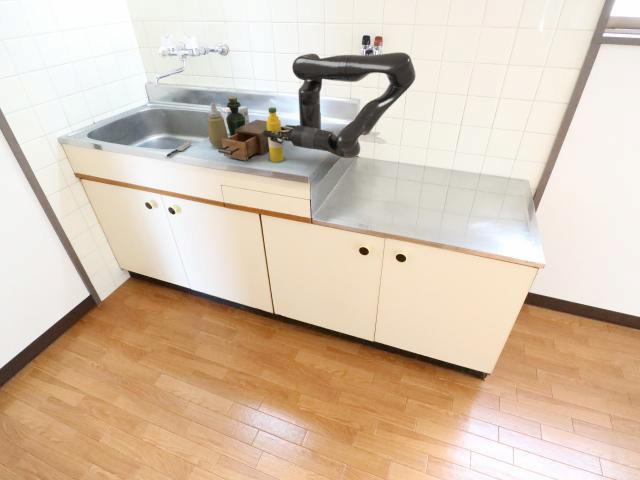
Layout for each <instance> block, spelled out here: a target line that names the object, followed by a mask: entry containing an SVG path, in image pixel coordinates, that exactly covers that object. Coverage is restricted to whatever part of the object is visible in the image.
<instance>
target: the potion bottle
mask: <svg viewBox="0 0 640 480" xmlns="http://www.w3.org/2000/svg"><path fill="white" fill-rule="evenodd" d="M227 99H228V102H227V104H226V108H230V110H231V113H230V114H229V115H228V116H227V118H226V121H227V125H228V129H229V133H230V134H229V137H230V136H233V135H235V129H237V128H239V127H241V126H244V125H245V116H244V115H243V114H241V113H239V112H238V109H239V107H240V106H241V105H242V104H241V102H239V101H238V97H237V96H229V97H227Z"/></svg>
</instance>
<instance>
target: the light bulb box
mask: <svg viewBox="0 0 640 480" xmlns="http://www.w3.org/2000/svg"><path fill="white" fill-rule="evenodd" d="M240 105H241V106H240V107H239V109H238V112H239V113H241V114H243V115H244V116H245V125H246V124H248V123H250V115H249V108H248V106H246V105H243V104H240ZM230 113H231V110H230V108H228V107H223V108H220V114H221V116H222V117H223V118H224V122H225V126H226V130H227V134H228V135H230V133H229V129H228V125H227V121H226V118H227V116H228V115H229V114H230Z"/></svg>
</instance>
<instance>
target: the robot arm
mask: <svg viewBox="0 0 640 480" xmlns="http://www.w3.org/2000/svg"><path fill="white" fill-rule="evenodd" d="M291 69H292V73H293V75H294V76H295V77H296V78H297V79H299V80H301V81H303V83H302V85H301V86H300V87H299V88H298V90H297V93H298V94H297V95H298V112H299V113H298V115H299V124H297V125H291V124H286V125H285V126H284V125H281V130H278V132H274V131H267V130H265V131H264V136H265V137H270V139H271V141H274V142H277V143H280V144H282V145H283V144H284V142H291V143H292V145H293V146H294V147H297V148H298V147H299V148H304V149H308V150H318V151H323V152H327V153H328V152H329V153H330V154H333V155H334V156H338V157H340V158H343V159H354V158H356V157H357V156H359V154H360V153H361V144H360V142H359V138H360V137H361V136H367V135H369V134H370V133H371V132H372V131H373V129H374V127H375V126H376V125H377V123H378V122H379V120H381V118H382V117H383V115H384V114H385V113H386V112H387V110H389V109H390V108H391V107H392V106H393V105H394V104H395V103H396V101H398V99H400V97H401V96H403V94H404V93H405V92H407V90H408V89H410V87H412V85H413V83H414V82H415V80H416V76H417V74H416V70H415V67H414V64H413V61H412V57H411V56H410V55H409V54H408V53H405V52H399V51H398V52H389V53H379V54H340V55H332V56H328V57H322V58H320V56H319V55H318V54H316V53H313V52H312V53H307V54H302V55H299V56H297V57H296V58H295V59H294V61H292V65H291ZM371 74H385V75H386V77H387V80H388V82H389V84H388V86H387V87H386V90H385V91H384V92H383V93H382V94H381V95H379V96H378V97H376V98H374V99H372V100H370V101H368V102H367V103H365V104H364V106H363V107H362V108H361V109H360V110H359V112H358V113H357V114H356V116H355V118H354V119H353V120H352V121H350V122H349V123H348V124H347V125H345V126H344V127H343V128H342V129H341V130H340V131H339V132H338V133H337V135H336V134H335V133H334V132H333V131H330V130H326V129H322V112H321V91H322V88H323V80H326V81H334V82H345V83H346V82H347V83H357V82H360V81H362V80H364V78H367V77H368V76H369V75H371ZM280 133H281V135H280ZM277 134H278V135H277Z"/></svg>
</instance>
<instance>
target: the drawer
mask: <svg viewBox="0 0 640 480" xmlns="http://www.w3.org/2000/svg"><path fill="white" fill-rule="evenodd" d="M221 140H222V146H223V148H217V152H218V153H220V154H223V156H224V157H228V158H232V159H237V160H241V161H245V162H247V161H249V158H250V157H252V156H254V155H256V154H255V153H257V152H259V143H258V136H256V135H250V134H245V133H237V134H235V135H233V136H230V135H229V136H228V138H227V139H225V138H223V139H221Z"/></svg>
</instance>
